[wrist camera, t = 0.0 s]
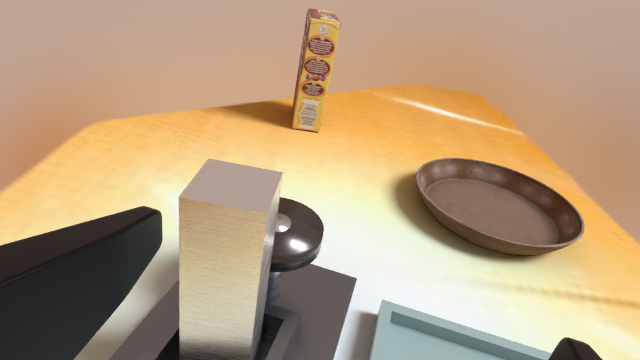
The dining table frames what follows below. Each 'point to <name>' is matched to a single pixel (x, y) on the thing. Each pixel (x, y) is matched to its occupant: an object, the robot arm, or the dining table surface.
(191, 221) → the pin
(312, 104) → the candy box
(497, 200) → the plant saucer
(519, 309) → the dining table surface
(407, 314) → the tray
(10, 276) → the robot arm
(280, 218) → the grey socket fixture
